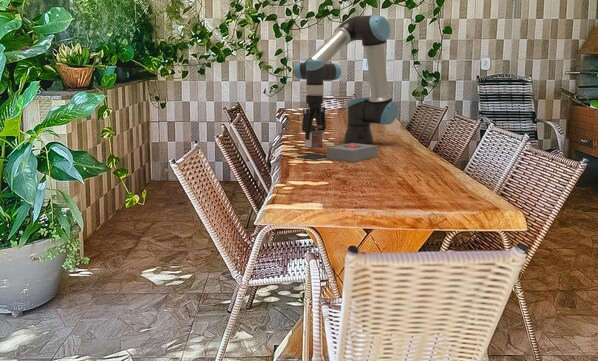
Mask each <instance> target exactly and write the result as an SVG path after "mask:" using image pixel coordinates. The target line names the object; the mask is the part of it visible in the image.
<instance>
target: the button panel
mask: <svg viewBox="0 0 598 361" xmlns="http://www.w3.org/2000/svg"><path fill="white" fill-rule="evenodd" d="M347 144H357V143H344V144H339V145H333V146H329V147H326V155H327V158H326V160H333V161H339V162H340V161H341V162H348V163H355V162H359V161H364V160H368V159H374V158H377V157H379V153H378V152H379V149H378V148H379V146H378V145H374V144H358V148H348V147H347Z"/></svg>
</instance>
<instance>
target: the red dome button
mask: <svg viewBox="0 0 598 361" xmlns="http://www.w3.org/2000/svg"><path fill="white" fill-rule="evenodd" d="M346 144H347V147H348V148H358V144H349V143H346Z"/></svg>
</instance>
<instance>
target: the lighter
mask: <svg viewBox="0 0 598 361" xmlns="http://www.w3.org/2000/svg"><path fill="white" fill-rule="evenodd" d="M318 128H321V125H317V124H316V125H315V124H312V127H311V132H310V133H312V147H306V144H305V145H304V147H305V149H320V148H323V147H324V146H323V137H322V133H323V134H324V131H322V130H319V129H318Z"/></svg>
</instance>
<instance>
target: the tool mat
mask: <svg viewBox="0 0 598 361" xmlns="http://www.w3.org/2000/svg"><path fill="white" fill-rule="evenodd" d="M296 158H298V159H302V160H303V159H304V160H310V161H311V160H313V161H317V160H323V159H327V154H321V153H315V152H314V153H308V154H302V155H298V156H296Z"/></svg>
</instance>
